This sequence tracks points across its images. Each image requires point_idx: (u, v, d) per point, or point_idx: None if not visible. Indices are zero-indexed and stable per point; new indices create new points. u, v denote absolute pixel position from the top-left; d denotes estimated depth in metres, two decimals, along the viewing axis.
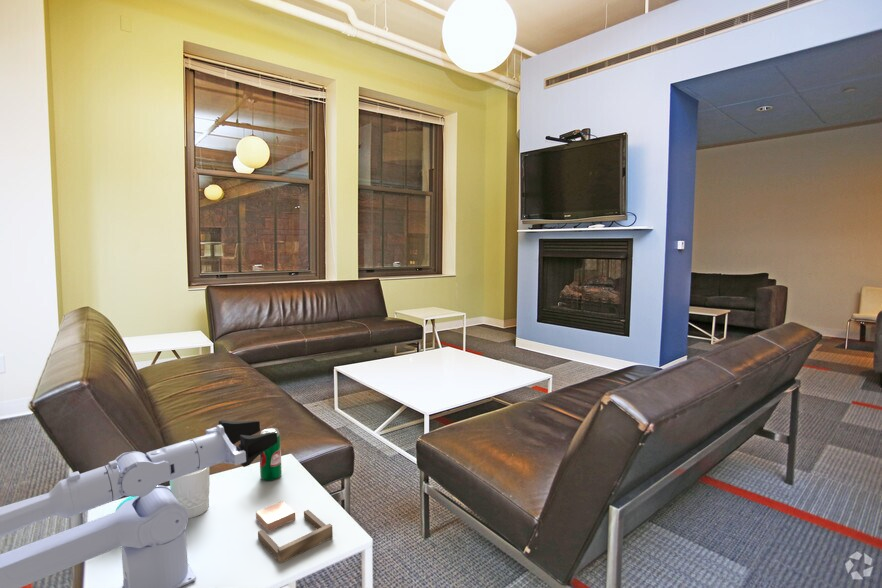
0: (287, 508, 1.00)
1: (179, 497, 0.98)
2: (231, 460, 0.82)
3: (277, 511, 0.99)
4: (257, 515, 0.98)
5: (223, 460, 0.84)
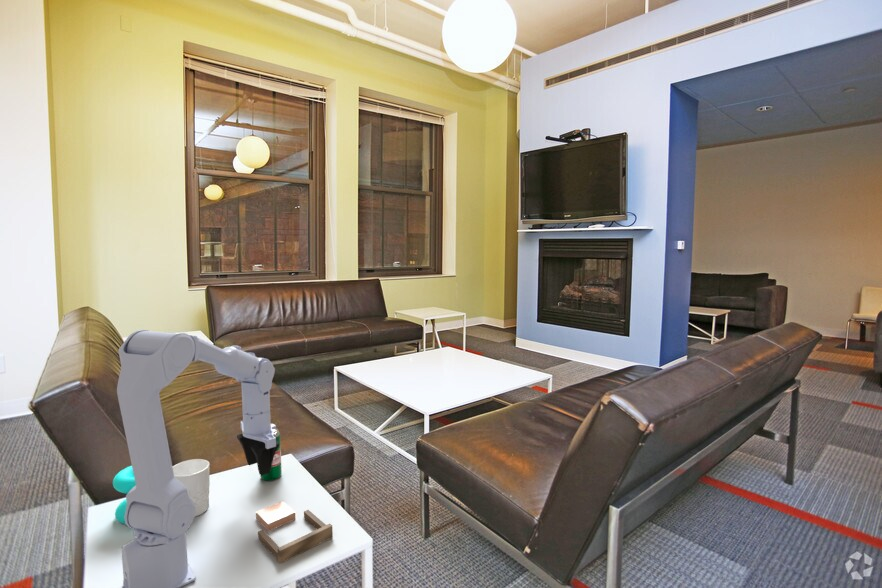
0: (287, 508, 1.00)
1: None
2: (261, 438, 0.98)
3: (277, 511, 0.99)
4: (257, 515, 0.98)
5: (253, 433, 1.00)
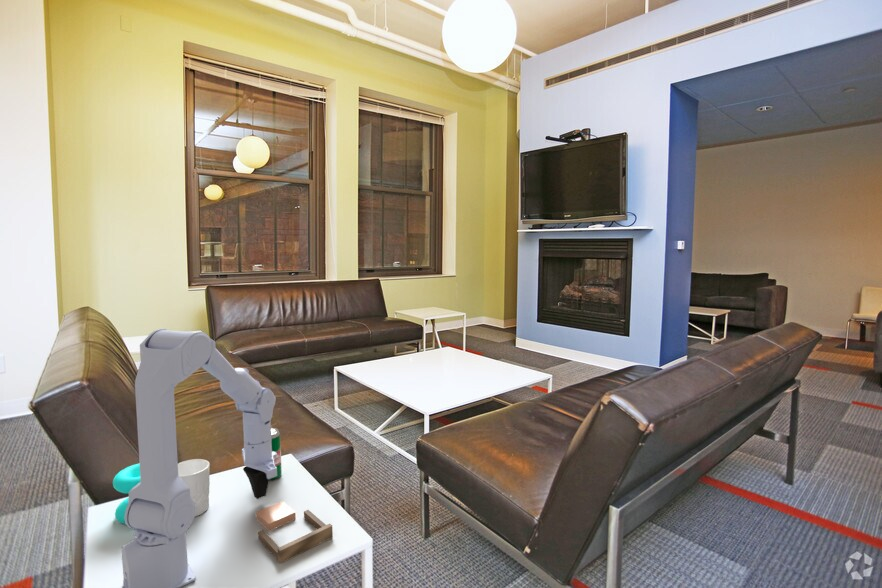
0: (287, 508, 1.00)
1: None
2: (263, 467, 0.99)
3: (277, 511, 0.99)
4: (257, 515, 0.98)
5: (254, 462, 1.00)
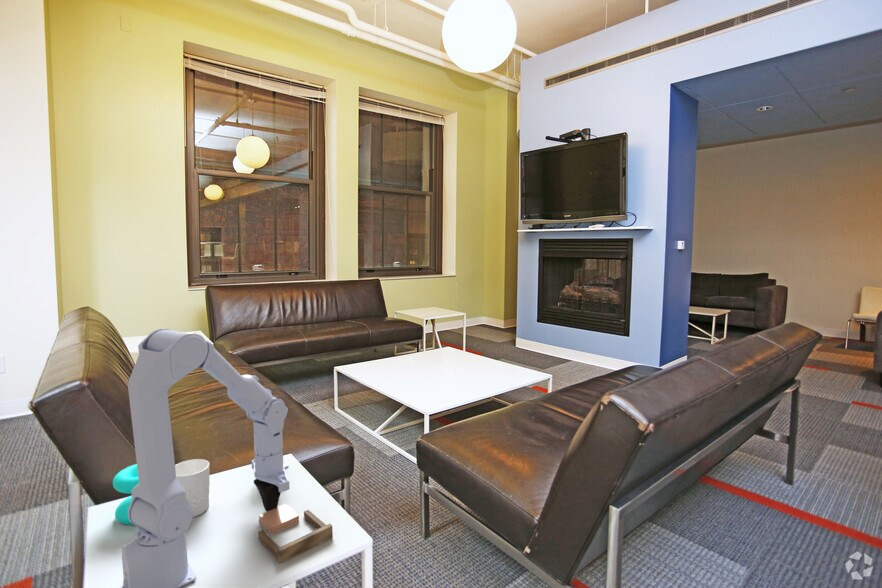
0: (290, 511, 0.99)
1: None
2: (274, 480, 0.95)
3: (280, 515, 0.98)
4: (260, 518, 0.97)
5: (265, 475, 0.96)
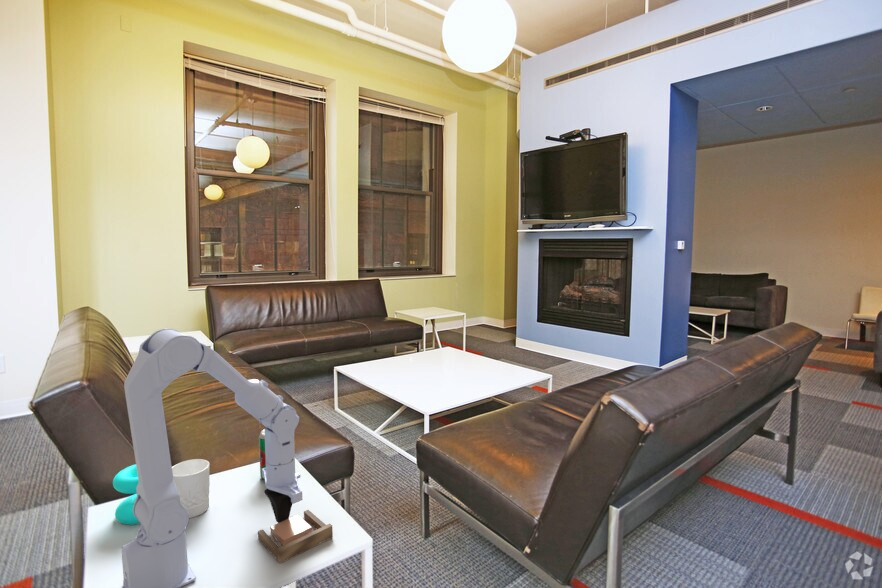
0: (303, 522, 0.95)
1: None
2: (287, 491, 0.91)
3: (293, 526, 0.94)
4: (272, 530, 0.93)
5: (277, 485, 0.92)
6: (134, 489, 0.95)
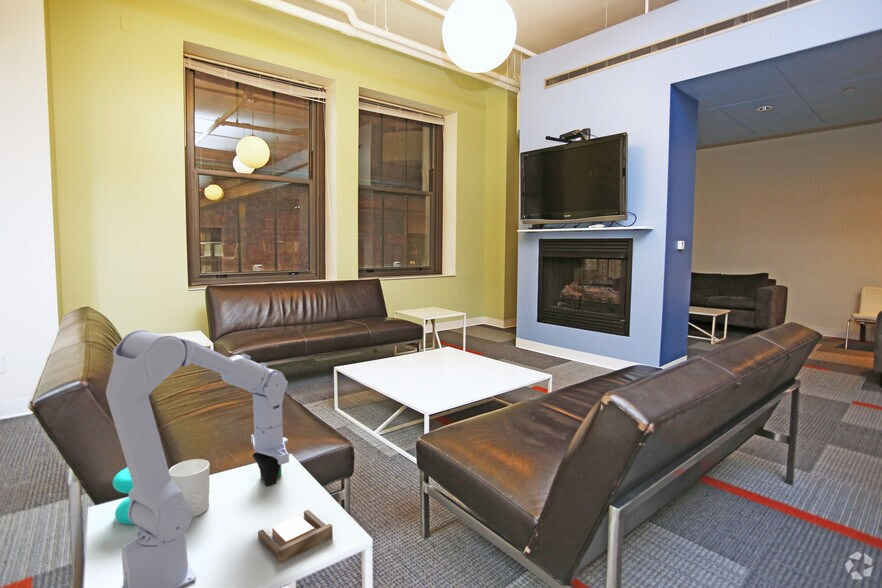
0: (305, 524, 0.94)
1: None
2: None
3: (295, 527, 0.93)
4: (274, 531, 0.93)
5: (264, 448, 0.96)
6: None
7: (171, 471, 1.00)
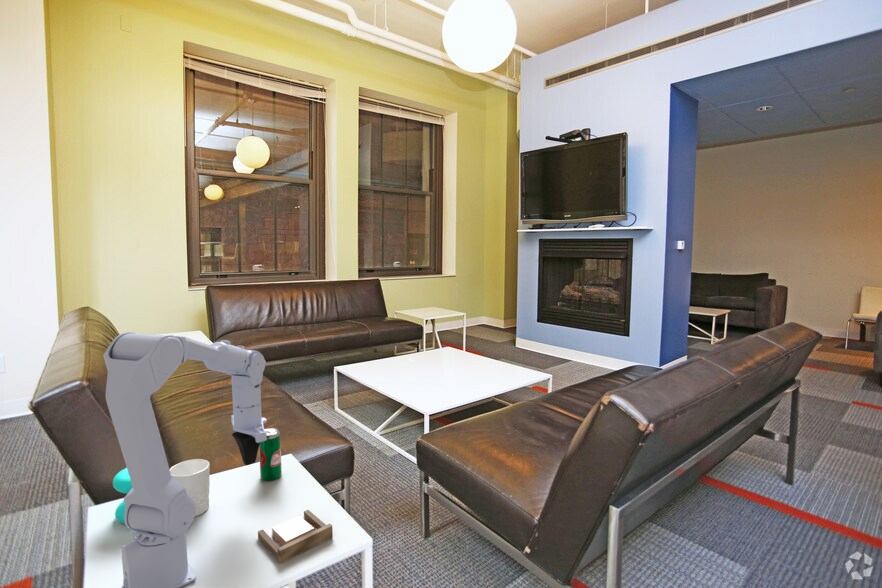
0: (305, 524, 0.94)
1: None
2: (252, 431, 0.97)
3: (295, 527, 0.93)
4: (274, 531, 0.93)
5: (243, 427, 0.98)
6: None
7: (171, 471, 1.00)
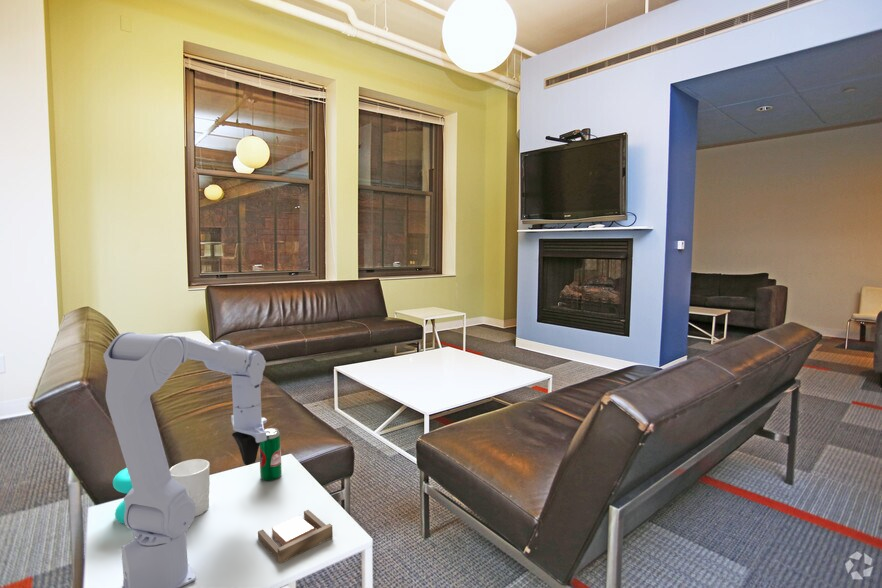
0: (305, 524, 0.94)
1: None
2: (252, 431, 0.97)
3: (295, 527, 0.93)
4: (274, 531, 0.93)
5: (243, 427, 0.98)
6: None
7: (171, 471, 1.00)
